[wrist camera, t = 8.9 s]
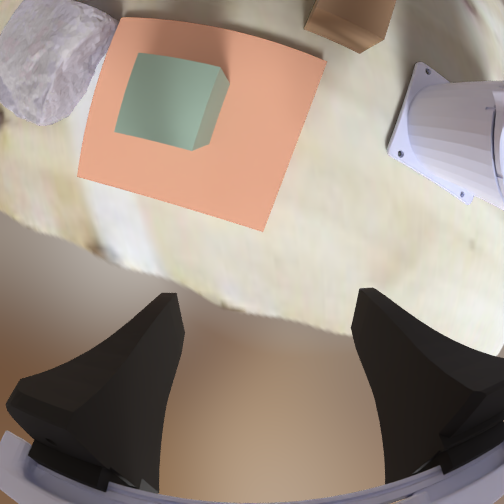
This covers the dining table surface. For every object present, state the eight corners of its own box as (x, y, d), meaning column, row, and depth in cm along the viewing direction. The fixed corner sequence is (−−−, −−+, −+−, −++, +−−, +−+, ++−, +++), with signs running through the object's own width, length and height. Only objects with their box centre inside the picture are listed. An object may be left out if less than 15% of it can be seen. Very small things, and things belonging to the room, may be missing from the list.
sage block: (230, 83, 14) (220, 67, 10) (209, 144, 16) (191, 151, 11) (169, 69, 14) (138, 52, 9) (150, 128, 15) (114, 132, 11)
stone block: (81, 128, 18) (135, 15, 12) (40, 145, 14) (94, 5, 8) (14, 84, 15) (51, -8, 10) (-23, 94, 11) (13, -11, 6)
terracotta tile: (324, 64, 14) (327, 61, 14) (262, 227, 19) (262, 231, 18) (126, 20, 12) (121, 17, 12) (82, 174, 17) (77, 176, 17)
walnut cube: (373, 13, 12) (397, -5, 9) (359, 53, 14) (384, 39, 10) (320, -11, 12) (335, -36, 8) (303, 29, 13) (316, 7, 10)
